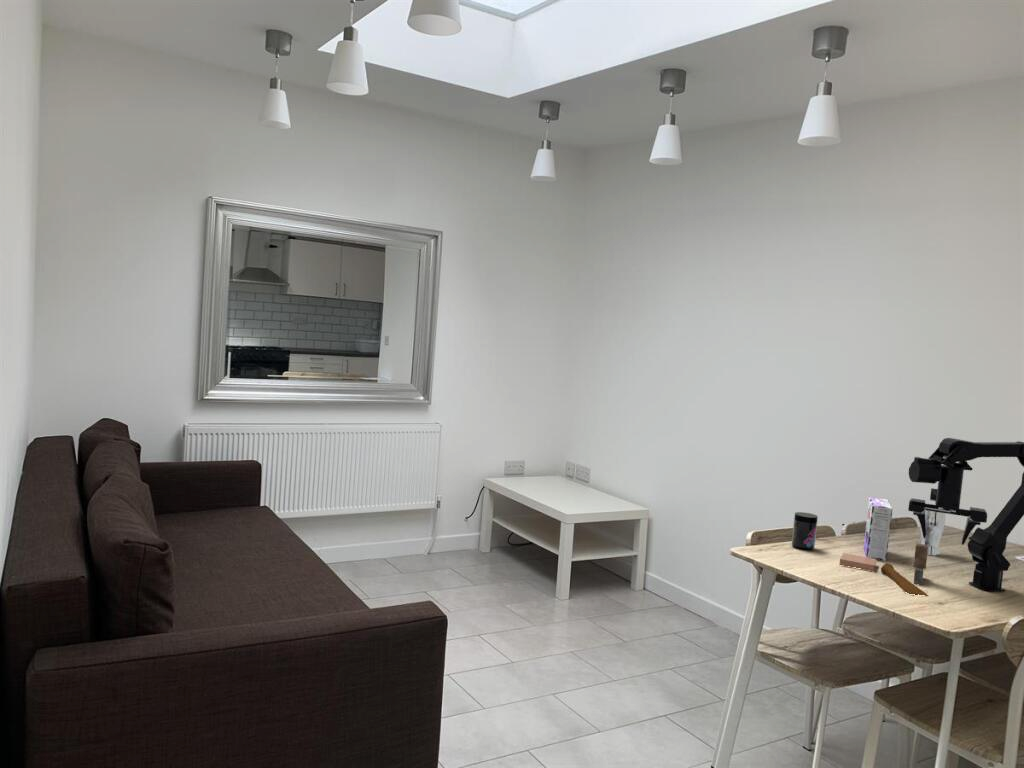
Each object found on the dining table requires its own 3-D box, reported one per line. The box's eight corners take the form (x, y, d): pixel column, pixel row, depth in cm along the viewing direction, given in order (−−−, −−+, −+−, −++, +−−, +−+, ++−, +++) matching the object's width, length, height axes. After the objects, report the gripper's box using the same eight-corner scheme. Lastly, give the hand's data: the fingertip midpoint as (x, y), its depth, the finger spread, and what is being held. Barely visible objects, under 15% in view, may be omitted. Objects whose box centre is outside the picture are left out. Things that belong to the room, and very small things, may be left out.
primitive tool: (929, 598, 209) (930, 585, 209) (908, 597, 209) (910, 583, 209) (891, 575, 229) (893, 563, 228) (872, 574, 228) (874, 562, 228)
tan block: (876, 559, 236) (843, 552, 240) (874, 565, 229) (840, 558, 233) (875, 566, 236) (842, 560, 240) (873, 573, 229) (839, 566, 233)
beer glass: (934, 557, 251) (939, 509, 249) (912, 551, 256) (917, 504, 255) (945, 555, 255) (950, 508, 254) (923, 549, 260) (928, 503, 259)
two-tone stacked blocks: (924, 578, 227) (928, 543, 226) (923, 586, 219) (928, 549, 218) (912, 575, 228) (916, 541, 227) (911, 583, 220) (915, 547, 219)
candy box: (862, 547, 256) (868, 496, 255) (883, 550, 254) (889, 499, 253) (865, 558, 243) (871, 504, 242) (887, 561, 241) (893, 507, 240)
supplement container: (799, 551, 246) (802, 517, 245) (786, 544, 252) (790, 511, 252) (818, 551, 247) (822, 517, 247) (806, 545, 254) (809, 512, 253)
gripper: (987, 486, 222) (980, 541, 223) (912, 475, 231) (906, 529, 232) (990, 492, 212) (983, 550, 213) (911, 481, 221) (905, 537, 222)
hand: (943, 541), depth 220 cm, fingers open, 9 cm apart
